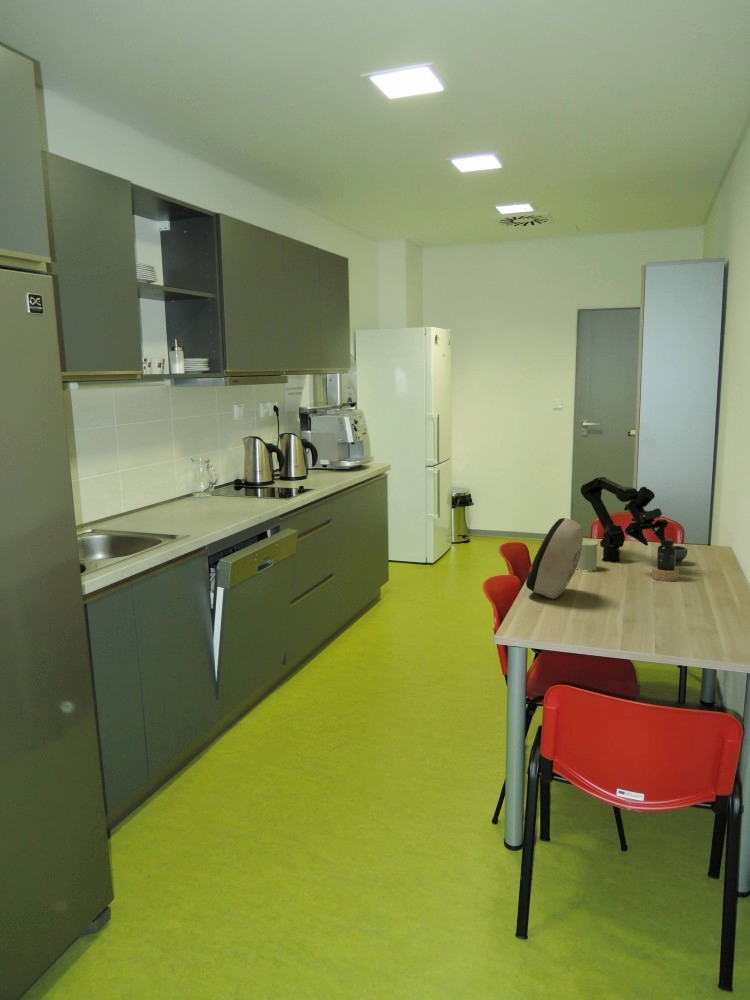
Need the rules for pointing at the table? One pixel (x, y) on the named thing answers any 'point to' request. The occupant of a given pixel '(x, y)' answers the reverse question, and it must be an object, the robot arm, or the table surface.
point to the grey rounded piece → (556, 559)
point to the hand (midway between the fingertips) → (656, 544)
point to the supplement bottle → (666, 555)
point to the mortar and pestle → (679, 554)
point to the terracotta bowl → (664, 574)
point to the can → (588, 556)
